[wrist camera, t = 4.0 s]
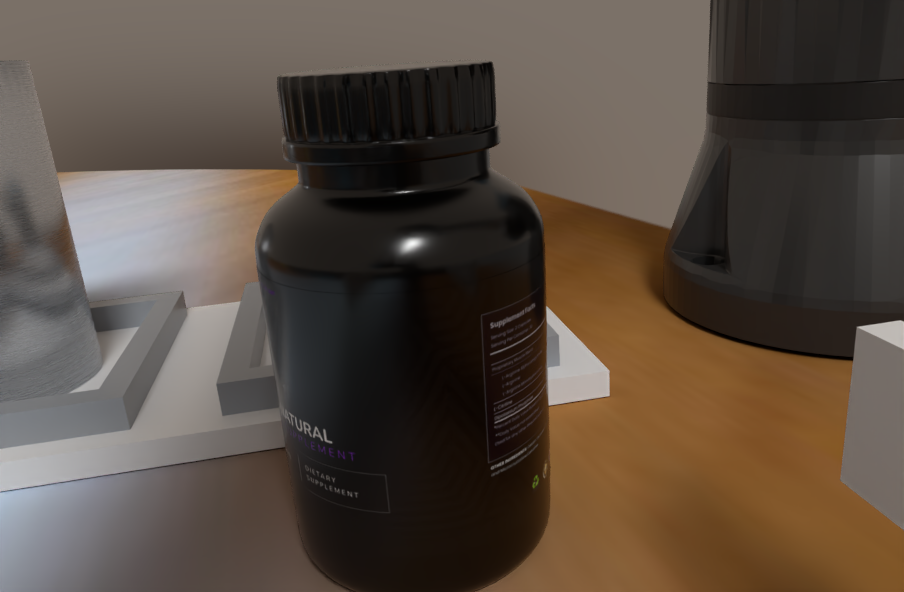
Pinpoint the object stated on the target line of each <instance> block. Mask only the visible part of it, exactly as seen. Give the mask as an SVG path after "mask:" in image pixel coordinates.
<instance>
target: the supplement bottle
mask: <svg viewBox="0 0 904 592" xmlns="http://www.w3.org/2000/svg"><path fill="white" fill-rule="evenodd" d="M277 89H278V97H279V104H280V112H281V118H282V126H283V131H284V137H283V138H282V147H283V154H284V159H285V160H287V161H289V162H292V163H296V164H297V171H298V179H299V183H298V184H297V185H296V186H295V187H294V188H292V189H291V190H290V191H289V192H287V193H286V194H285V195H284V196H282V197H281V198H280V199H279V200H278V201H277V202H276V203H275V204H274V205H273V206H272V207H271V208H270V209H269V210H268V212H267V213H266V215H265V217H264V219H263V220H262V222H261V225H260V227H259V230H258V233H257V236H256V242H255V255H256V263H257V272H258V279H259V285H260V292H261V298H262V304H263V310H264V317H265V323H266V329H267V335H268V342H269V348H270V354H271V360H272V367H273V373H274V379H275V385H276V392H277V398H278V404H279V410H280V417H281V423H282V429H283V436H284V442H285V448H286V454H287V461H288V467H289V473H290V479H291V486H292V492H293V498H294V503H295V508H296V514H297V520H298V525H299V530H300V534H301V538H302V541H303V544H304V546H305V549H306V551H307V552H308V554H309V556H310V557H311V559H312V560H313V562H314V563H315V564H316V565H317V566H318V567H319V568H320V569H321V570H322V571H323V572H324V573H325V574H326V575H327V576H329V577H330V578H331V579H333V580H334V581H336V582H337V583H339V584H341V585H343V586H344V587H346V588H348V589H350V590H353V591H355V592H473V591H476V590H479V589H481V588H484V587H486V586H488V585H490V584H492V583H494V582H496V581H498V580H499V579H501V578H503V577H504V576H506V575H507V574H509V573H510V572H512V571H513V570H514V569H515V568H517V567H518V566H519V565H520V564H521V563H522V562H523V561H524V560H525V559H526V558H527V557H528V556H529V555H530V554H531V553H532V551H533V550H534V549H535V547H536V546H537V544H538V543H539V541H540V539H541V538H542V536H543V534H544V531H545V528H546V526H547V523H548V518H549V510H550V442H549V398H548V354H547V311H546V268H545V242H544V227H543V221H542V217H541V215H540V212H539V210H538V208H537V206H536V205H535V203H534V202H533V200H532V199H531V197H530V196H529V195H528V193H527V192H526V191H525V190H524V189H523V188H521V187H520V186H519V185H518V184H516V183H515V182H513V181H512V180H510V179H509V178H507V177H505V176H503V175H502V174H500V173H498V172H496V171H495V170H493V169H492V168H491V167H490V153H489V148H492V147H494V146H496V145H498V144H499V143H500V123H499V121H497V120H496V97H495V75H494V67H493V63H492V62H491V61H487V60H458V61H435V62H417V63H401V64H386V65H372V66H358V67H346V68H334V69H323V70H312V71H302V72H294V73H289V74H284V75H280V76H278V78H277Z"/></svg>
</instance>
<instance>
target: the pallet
mask: <svg viewBox="0 0 904 592" xmlns="http://www.w3.org/2000/svg"><path fill="white" fill-rule="evenodd" d="M89 306H90V310H91V314H92V318H93V322H94V326H95V330H96V334H97V338H98V342H99V346H100V350H101V354H102V358H103V365H102V368H101V369H100V371H99V372H98V373H97V374H96V375H95V376H94V377H93V378H92V379H90V380H89V381H88V382H86V383H85V384H83V385H82V386H80V387H78V388H76V389H75V390H73V391H71V392H69V393H67V394H60V395H53V396H46V397H39V398H31V399H24V400H17V401H10V402H3V403H0V492H1V491H7V490H14V489H20V488H26V487H33V486H39V485H46V484H52V483H58V482H65V481H71V480H77V479H84V478H90V477H97V476H103V475H109V474H116V473H122V472H128V471H135V470H141V469H148V468H154V467H160V466H167V465H173V464H179V463H186V462H192V461H199V460H205V459H211V458H218V457H224V456H230V455H237V454H243V453H250V452H256V451H262V450H269V449H275V448H282V447H285V442H284V436H283V429H282V423H281V417H280V410H279V404H278V398H277V392H276V385H275V379H274V373H273V367H272V360H271V354H270V348H269V342H268V335H267V329H266V323H265V317H264V310H263V304H262V298H261V292H260V285H259V282H252V283H246V285H245V289H244V292H243V295H242V299H241V301H240V302H232V303H225V304H217V305H209V306H201V307H193V308H186V305H185V300H184V295H183V291H178V292H170V293H162V294H154V295H146V296H137V297H129V298H121V299H113V300H105V301H97V302H89ZM546 311H547V354H548V398H549V405H556V404H562V403H569V402H575V401H581V400H588V399H594V398H600V397H607V396H610V390H609V370H608V369H607V368H606V367H605V366H604V365H603V364H602V363H601V362H600V361H599V360H598V359H597V357H596V356H595V355H594V354H593V353H592V352H591V351H590V350H589V349H588V348H587V347H586V346H585V345H584V344H583V343H582V342H581V341H580V340H579V339H578V338H577V337H576V336H575V335H574V334H573V333H572V332H571V331H570V330H569V329H568V328H567V327H566V326H565V325H564V324H563V323H562V322H561V320H560V319H559V318H558V317H557V316H556V315H555V314H554V313H553V312H552V311H551V310H550V309H549V308H548V307H547V306H546Z"/></svg>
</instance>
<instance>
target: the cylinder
mask: <svg viewBox="0 0 904 592" xmlns="http://www.w3.org/2000/svg"><path fill="white" fill-rule="evenodd" d="M102 365H103V358H102V354H101V350H100V346H99V342H98V338H97V334H96V330H95V326H94V322H93V318H92V314H91V310H90V306H89V302H88V298H87V293H86V289H85V285H84V281H83V277H82V273H81V269H80V265H79V261H78V257H77V253H76V249H75V245H74V241H73V237H72V233H71V229H70V225H69V221H68V217H67V213H66V209H65V205H64V201H63V197H62V193H61V189H60V185H59V181H58V177H57V173H56V169H55V165H54V161H53V157H52V153H51V149H50V145H49V141H48V136H47V132H46V128H45V124H44V121H43V116H42V112H41V108H40V105H39V101H38V96H37V92H36V89H35V84H34V80H33V76H32V72H31V68H30V64H29V61H0V403H3V402H10V401H17V400H24V399H31V398H39V397H46V396H53V395H60V394H67V393H69V392H71V391H73V390H75V389H76V388H78V387H80V386H82V385H83V384H85V383H86V382H88V381H89V380H90V379H92V378H93V377H94V376H95V375H96V374H97V373H98V372H99V371H100V369H101V368H102Z"/></svg>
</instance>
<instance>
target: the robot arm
mask: <svg viewBox="0 0 904 592" xmlns="http://www.w3.org/2000/svg"><path fill="white" fill-rule="evenodd" d="M707 81H708V89H707V90H708V91H707V115H706V130H705V135H704V139H703V142H702V145H701V148H700V151H699V153H698V156H697V159H696V162H695V165H694V167H693V170H692V173H691V176H690V179H689V182H688V184H687V187H686V190H685V192H684V195H683V198H682V201H681V204H680V206H679V209H678V212H677V215H676V218H675V220H674V223H673V226H672V229H671V231H670V234H669V237H668V240H667V243H666V246H665V251H664V273H663V294H664V297H665V299H666V301H667V302H668V304H669V305H670V306H671V307H672V308H673V309H674V310H675V311H677V312H678V313H679V314H681V315H682V316H684V317H686V318H687V319H689V320H691V321H693V322H695V323H697V324H699V325H701V326H704V327H706V328H709V329H711V330H714V331H716V332H719V333H722V334H725V335H728V336H732V337H735V338H739V339H742V340H746V341H750V342H754V343H758V344H763V345H767V346H772V347H778V348H783V349H789V350H795V351H801V352H809V353H816V354H825V355H835V356H846V357H854V358H853V367H852V377H851V386H850V395H849V405H848V414H847V423H846V433H845V442H844V451H843V460H842V470H841V479H840V481H842V482H843V483H844V484H845V485H847V486H848V487H849V488H850V489H852V490H853V491H854V492H856V493H857V494H858V495H859V496H861V497H862V498H863V499H865V500H866V501H867V502H868V503H870V504H871V505H872V506H874V507H875V508H876V509H877V510H879V511H880V512H881V513H882V514H884V515H885V516H886V517H888V518H889V519H890V520H891V521H893V522H894V523H895V524H897V525H898V526H899V527H900V528H902V529H903V530H904V0H711V3H710V34H709V56H708V80H707Z"/></svg>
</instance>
